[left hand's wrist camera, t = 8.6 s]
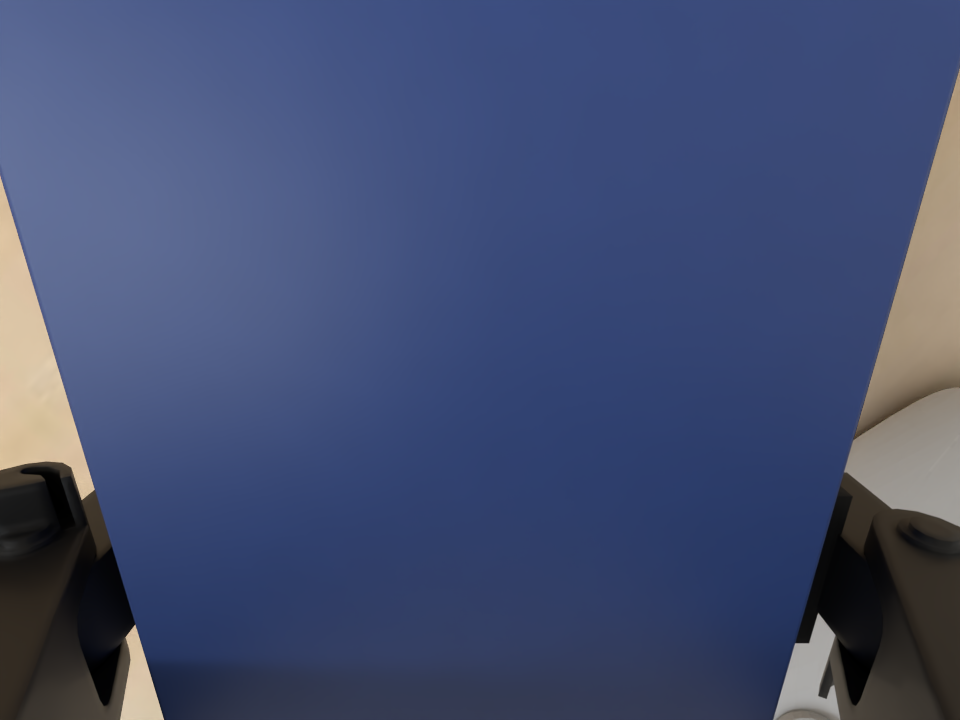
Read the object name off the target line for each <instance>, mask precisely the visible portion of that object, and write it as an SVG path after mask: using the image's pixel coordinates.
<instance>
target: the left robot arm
mask: <svg viewBox="0 0 960 720" xmlns="http://www.w3.org/2000/svg"><path fill="white" fill-rule="evenodd" d="M818 613H819V615H820V616H821V617H822V618H823V620H824V621H825V622H826V624H827V625H828V626H829V628H830V629H831V630H832V631H833V633H834V634H835V638H834V641H833V644H832V648H831V651H830V654H829V657H828V660H827V663H826V666H825V670H824V673H823V676H822V679H821V682H820V686H819V693H818V696H819V697H822V698H825V699H827V697H828V693H829V690H830V687H832V686H833V685H834V687H835V692H836V698H837V704H838V709H839V715H840V720H960V527H959V526H957V525H955V524H952V523H950V522H948V521H946V520H943V519H941V518H938V517H935V516H931V515H928V514H925V513H921V512H918V511H911V510H903V509H892V508H890V507H889V506H888V505H887V504H885V503H884V502H883V501H882V500H880V499H879V498H878V497H877V496H876V495H874V494H873V493H872V492H871V491H869V490H868V489H867V488H866V487H864V486H863V485H862V484H861V483H859V482H858V481H857V480H856V479H854V478H853V477H852V476H851V475H850V474H848V473H847V472H844V474H843V478H842V481H841V485H840V488H839V492H838V495H837V499H836V502H835V506H834V509H833V513H832V516H831V520H830V523H829V527H828V530H827V534H826V537H825V541H824V544H823V548H822V551H821V555H820V558H819V562H818V565H817V569H816V572H815V576H814V579H813V583H812V586H811V590H810V593H809V597H808V600H807V604H806V607H805V611H804V614H803V618H802V621H801V625H800V628H799V631H798V635H797V638H796V642H795V643H809V642H810V639H811V635H812V632H813V629H814V625H815V622H816V619H817V615H818ZM134 625H135V621H134V618H133V614H132V611H131V608H130V604H129V601H128V598H127V594H126V591H125V588H124V584H123V581H122V578H121V574H120V571H119V568H118V564H117V561H116V558H115V554H114V551H113V548H112V545H111V541H110V538H109V535H108V531H107V528H106V525H105V521H104V518H103V515H102V511H101V508H100V505H99V501H98V498H97V495H96V491H95V490H94V491H93V492H91V493H90V494H89V495H88V496H87V497H85V498H84V499H83V500H81V497H80V494H79V491H78V488H77V485H76V481H75V478H74V475H73V472H72V469H71V467H69V466H67V465H65V464H64V463H58V462H39V463H31V464H24V465H20V466H16V467H12V468H8V469H4V470H1V471H0V720H120V717H121V711H122V705H123V700H124V694H125V688H126V683H127V677H128V671H129V665H130V653H129V648H128V644H127V641H126V638H125V637H126V636H127V634H128V633H129V632H130V630H131V629H132V628H133V627H134Z"/></svg>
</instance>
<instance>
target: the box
mask: <svg viewBox="0 0 960 720" xmlns="http://www.w3.org/2000/svg"><path fill="white" fill-rule="evenodd" d="M959 69H960V0H0V176H1V179H2V183H3V186H4V189H5V193H6V196H7V199H8V203H9V206H10V209H11V212H12V216H13V219H14V222H15V226H16V229H17V232H18V236H19V239H20V242H21V246H22V249H23V252H24V256H25V259H26V262H27V266H28V269H29V272H30V276H31V279H32V282H33V286H34V289H35V292H36V295H37V299H38V302H39V305H40V309H41V312H42V315H43V319H44V322H45V325H46V329H47V332H48V335H49V339H50V342H51V345H52V349H53V352H54V355H55V359H56V362H57V365H58V369H59V372H60V375H61V378H62V382H63V385H64V388H65V392H66V395H67V398H68V402H69V405H70V408H71V412H72V415H73V418H74V422H75V425H76V428H77V432H78V435H79V438H80V442H81V445H82V448H83V452H84V455H85V458H86V462H87V465H88V468H89V471H90V475H91V478H92V481H93V485H94V488H95V491H96V495H97V498H98V501H99V505H100V508H101V511H102V515H103V518H104V521H105V525H106V528H107V531H108V535H109V538H110V541H111V545H112V548H113V551H114V554H115V558H116V561H117V564H118V568H119V571H120V574H121V578H122V581H123V584H124V588H125V591H126V594H127V598H128V601H129V604H130V608H131V611H132V614H133V618H134V621H135V624H136V628H137V631H138V634H139V637H140V641H141V644H142V647H143V651H144V654H145V657H146V661H147V664H148V667H149V671H150V674H151V677H152V681H153V684H154V687H155V691H156V694H157V697H158V701H159V704H160V707H161V711H162V714H163V717H164V720H773V719H774V715H775V712H776V708H777V705H778V701H779V698H780V694H781V691H782V687H783V684H784V680H785V677H786V673H787V670H788V666H789V663H790V659H791V656H792V652H793V649H794V645H795V642H796V638H797V635H798V631H799V628H800V625H801V621H802V618H803V614H804V611H805V607H806V604H807V600H808V597H809V593H810V590H811V586H812V583H813V579H814V576H815V572H816V569H817V565H818V562H819V558H820V555H821V551H822V548H823V544H824V541H825V537H826V534H827V530H828V527H829V523H830V520H831V516H832V513H833V509H834V506H835V502H836V499H837V495H838V492H839V488H840V485H841V481H842V478H843V474H844V471H845V467H846V464H847V460H848V457H849V453H850V450H851V446H852V443H853V439H854V436H855V432H856V429H857V425H858V422H859V418H860V415H861V411H862V408H863V404H864V401H865V397H866V394H867V390H868V387H869V383H870V380H871V376H872V373H873V369H874V366H875V362H876V359H877V355H878V352H879V348H880V345H881V341H882V338H883V334H884V331H885V327H886V324H887V320H888V317H889V313H890V310H891V306H892V303H893V299H894V296H895V292H896V289H897V285H898V282H899V278H900V275H901V271H902V268H903V264H904V261H905V257H906V254H907V250H908V247H909V243H910V240H911V236H912V233H913V229H914V226H915V222H916V219H917V215H918V212H919V208H920V205H921V201H922V198H923V194H924V191H925V187H926V184H927V180H928V177H929V173H930V170H931V166H932V163H933V159H934V156H935V152H936V149H937V145H938V142H939V138H940V135H941V131H942V128H943V125H944V121H945V118H946V114H947V111H948V107H949V104H950V100H951V97H952V93H953V90H954V86H955V83H956V79H957V76H958V72H959Z"/></svg>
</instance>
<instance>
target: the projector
mask: <svg viewBox="0 0 960 720" xmlns="http://www.w3.org/2000/svg"><path fill="white" fill-rule="evenodd" d="M844 472H847V473H848V474H850V475H851V476H852V477H853V478H854V479H856V480H857V481H858V482H859V483H861V484H862V485H863V486H864V487H866V488H867V489H868V490H869V491H871V492H872V493H873V494H874V495H876V496H877V497H878V498H879V499H880V500H882V501H883V502H884V503H885V504H887V505H888V506H889V507H890V508H892V509H903V510H911V511H918V512H921V513H925V514H928V515H931V516H935V517H938V518H941V519H943V520H946V521H948V522H950V523H952V524H955V525H957V526H959V527H960V387H959V388H949V389H944V390H941V391H937V392H935V393H933V394H930V395H928V396H926V397H924V398H922V399H920V400H918V401H916V402H914V403H912V404H911V405H909V406H907V407H906V408H904V409H902V410H900V411H899V412H897V413H895V414H893V415H892V416H890V417H889V418H887V419H885V420H884V421H882V422H881V423H879V424H877V425H876V426H874V427H873V428H871V429H870V430H868V431H866V432H865V433H863V434H862V435H860V436H859V437H857V438H856V439H854V440H853V443H852V446H851V450H850V453H849V457H848V460H847V464H846V467H845V471H844ZM834 638H835V634H834V633H833V631H832V630H831V629H830V628H829V626H828V625H827V624H826V622H825V621H824V620H823V618H822V617H821V616H820V615H819V613H818V615H817V619H816V622H815V625H814V629H813V632H812V635H811V639H810V642H809V643H795V645H794V649H793V652H792V656H791V659H790V663H789V666H788V670H787V673H786V677H785V680H784V684H783V687H782V691H781V694H780V698H779V701H778V705H777V708H776V712H775V715H774V719H773V720H840V715H839V709H838V704H837V698H836V692H835V687H834V685H833V686H832V687H830V690H829V693H828V697H827V699H825V698H822V697H819V696H818V693H819V686H820V682H821V679H822V676H823V673H824V670H825V666H826V663H827V660H828V657H829V654H830V651H831V648H832V644H833V641H834Z"/></svg>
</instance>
